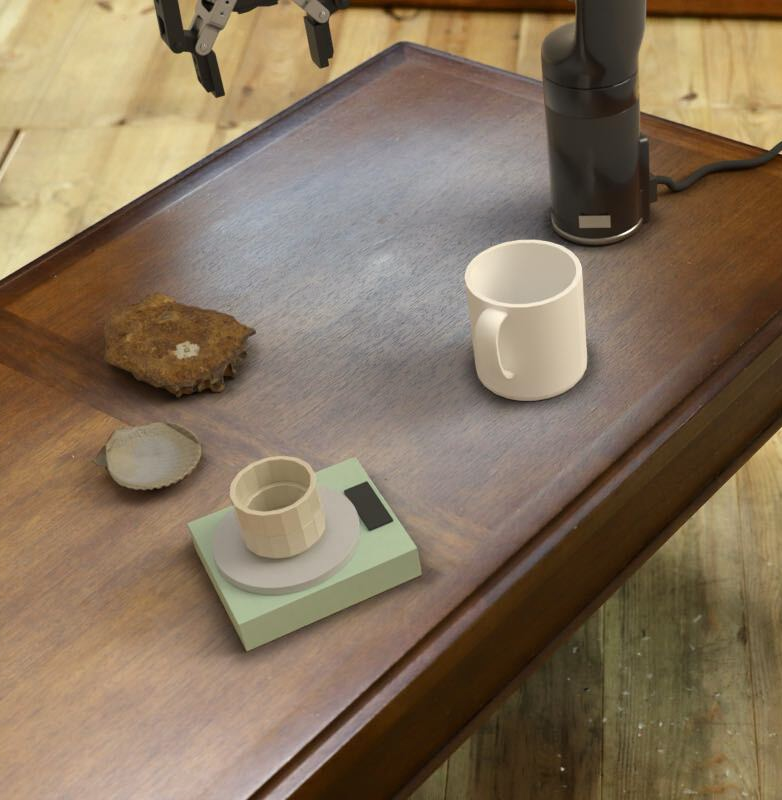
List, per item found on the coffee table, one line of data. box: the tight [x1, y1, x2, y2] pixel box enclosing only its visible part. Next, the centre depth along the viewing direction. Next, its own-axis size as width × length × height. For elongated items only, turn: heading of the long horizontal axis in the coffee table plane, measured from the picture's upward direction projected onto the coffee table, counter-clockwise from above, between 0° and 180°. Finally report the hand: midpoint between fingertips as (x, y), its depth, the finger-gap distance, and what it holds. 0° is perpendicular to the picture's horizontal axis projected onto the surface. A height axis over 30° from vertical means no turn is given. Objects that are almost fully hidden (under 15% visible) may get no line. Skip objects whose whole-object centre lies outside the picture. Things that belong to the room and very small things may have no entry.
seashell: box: [92, 421, 203, 492], centre depth 114 cm, size 8×3×8 cm
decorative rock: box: [103, 292, 257, 398], centre depth 126 cm, size 11×4×15 cm
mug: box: [464, 239, 588, 402], centre depth 120 cm, size 13×10×10 cm
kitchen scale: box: [186, 456, 423, 652], centre depth 105 cm, size 14×12×4 cm
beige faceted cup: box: [228, 455, 326, 559], centre depth 102 cm, size 6×6×5 cm
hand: (269, 78), depth 108 cm, fingers open, 8 cm apart
